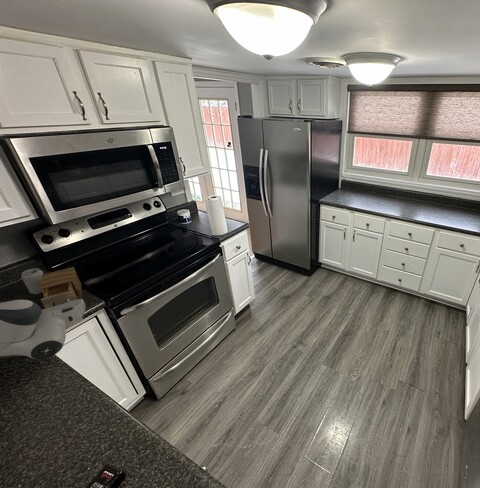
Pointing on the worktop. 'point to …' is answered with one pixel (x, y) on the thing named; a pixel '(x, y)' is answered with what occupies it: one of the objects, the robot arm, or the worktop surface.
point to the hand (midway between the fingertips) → (51, 304)
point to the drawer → (59, 294)
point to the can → (32, 280)
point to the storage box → (61, 280)
